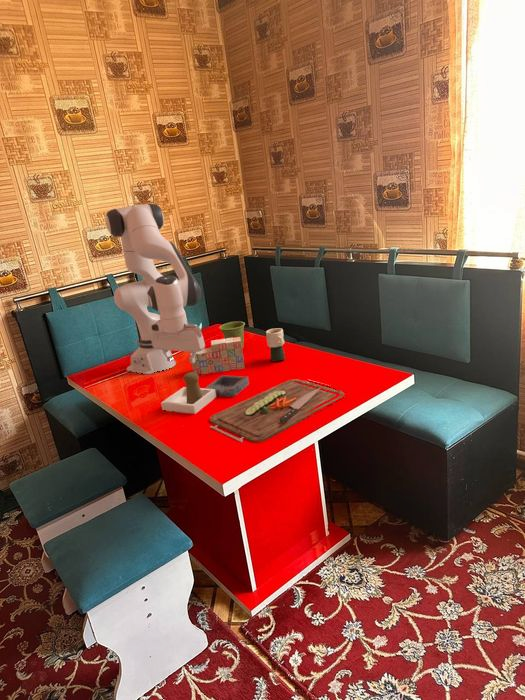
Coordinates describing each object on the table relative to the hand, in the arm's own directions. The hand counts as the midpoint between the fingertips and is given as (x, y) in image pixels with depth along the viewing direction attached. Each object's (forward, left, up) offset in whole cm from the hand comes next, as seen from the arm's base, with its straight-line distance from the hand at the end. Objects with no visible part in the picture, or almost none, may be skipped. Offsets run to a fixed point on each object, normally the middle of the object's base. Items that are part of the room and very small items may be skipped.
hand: (181, 361), depth 178 cm
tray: (0, 0, -16) cm, 16 cm away
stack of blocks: (-7, +32, -16) cm, 37 cm away
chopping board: (+34, +2, -17) cm, 38 cm away
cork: (+3, 0, -16) cm, 16 cm away
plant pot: (-14, +59, -16) cm, 63 cm away
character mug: (+14, +46, -16) cm, 51 cm away
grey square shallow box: (+8, +14, -16) cm, 23 cm away
